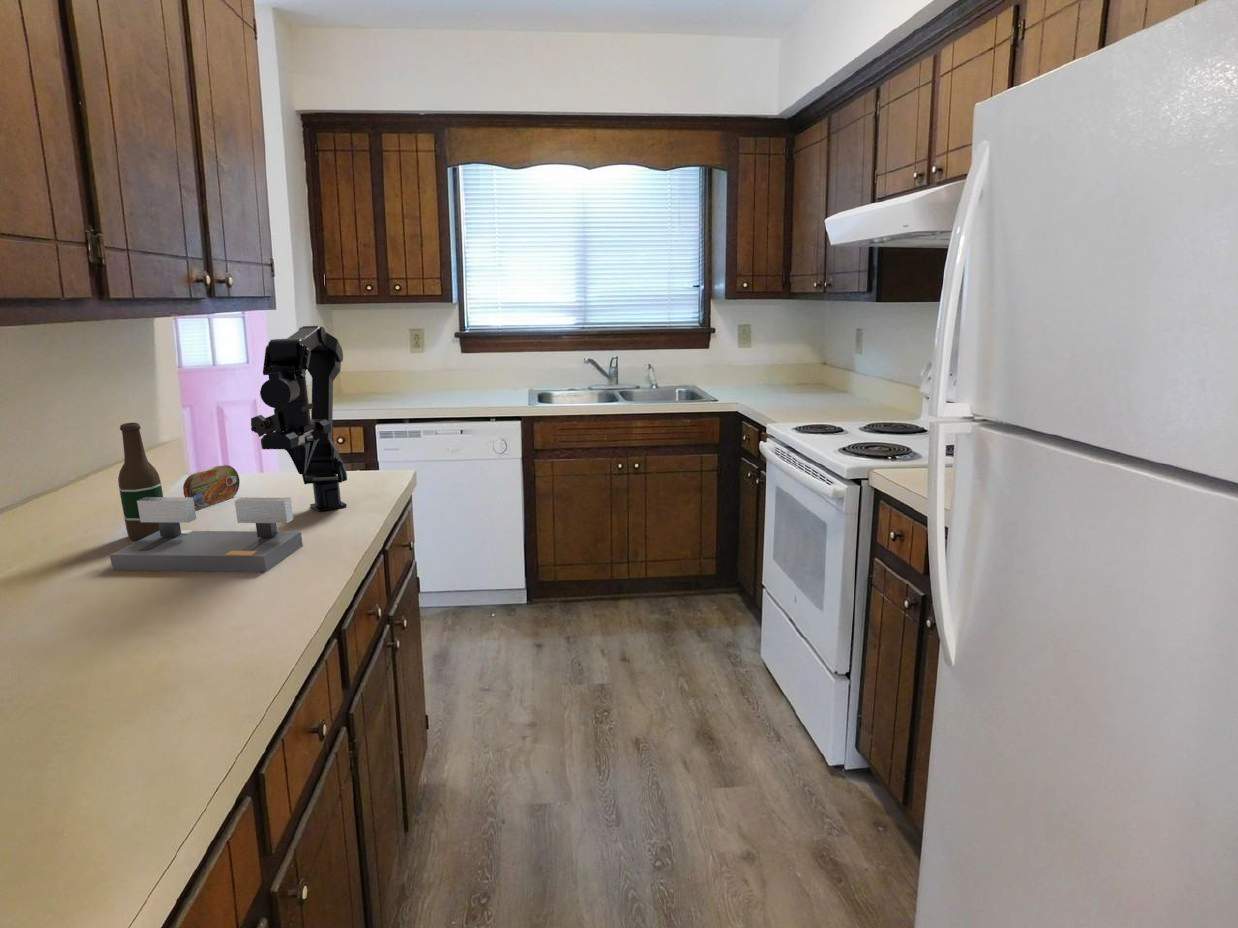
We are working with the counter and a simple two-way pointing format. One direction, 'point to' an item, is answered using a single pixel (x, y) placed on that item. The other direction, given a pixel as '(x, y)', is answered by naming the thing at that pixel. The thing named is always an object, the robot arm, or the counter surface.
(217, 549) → the switch panel
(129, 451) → the beer bottle
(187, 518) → the switch
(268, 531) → the switch
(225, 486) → the tin
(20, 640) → the counter surface
